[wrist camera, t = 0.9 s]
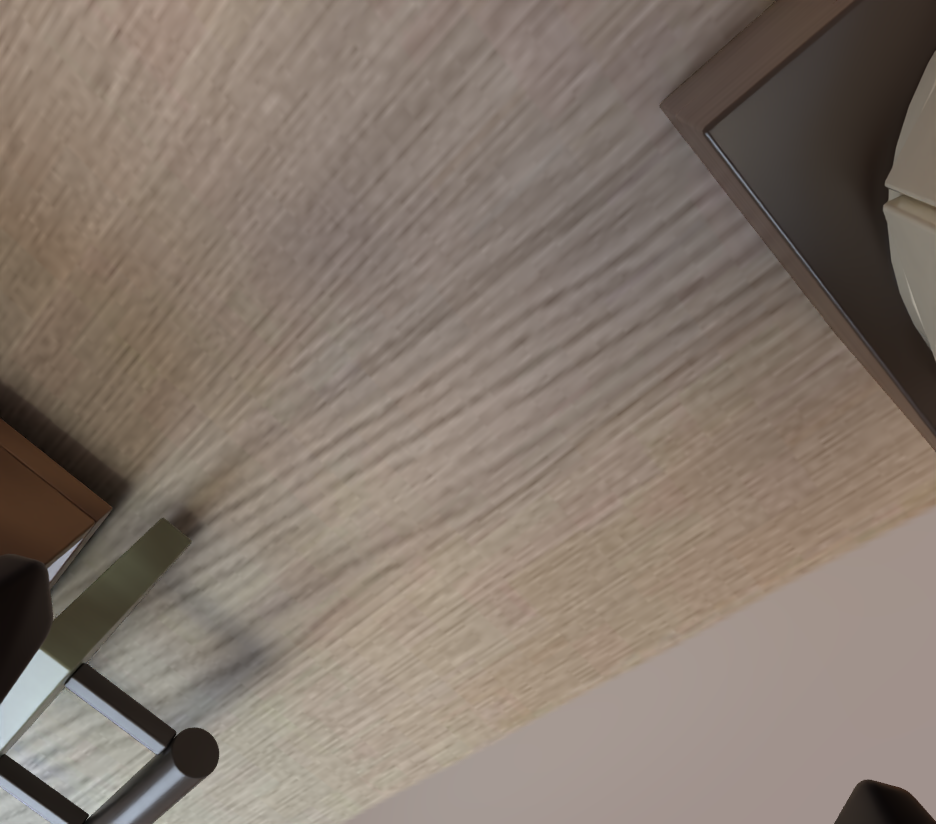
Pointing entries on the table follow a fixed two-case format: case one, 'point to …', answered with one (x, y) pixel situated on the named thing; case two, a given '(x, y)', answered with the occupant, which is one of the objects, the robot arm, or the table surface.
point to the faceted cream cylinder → (916, 208)
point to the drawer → (87, 640)
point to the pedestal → (823, 163)
